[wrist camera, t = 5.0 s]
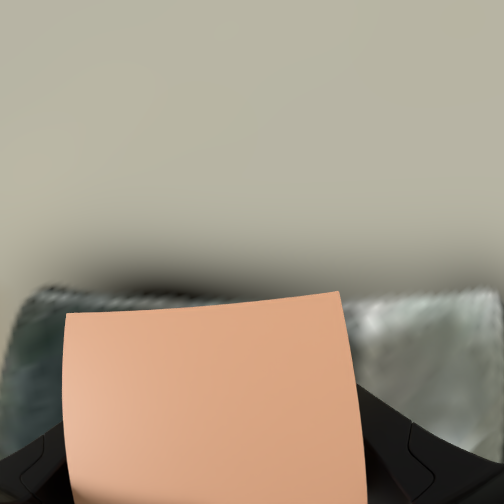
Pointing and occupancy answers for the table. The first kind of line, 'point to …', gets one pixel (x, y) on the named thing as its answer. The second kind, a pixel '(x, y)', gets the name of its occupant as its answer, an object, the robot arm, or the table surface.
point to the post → (213, 405)
